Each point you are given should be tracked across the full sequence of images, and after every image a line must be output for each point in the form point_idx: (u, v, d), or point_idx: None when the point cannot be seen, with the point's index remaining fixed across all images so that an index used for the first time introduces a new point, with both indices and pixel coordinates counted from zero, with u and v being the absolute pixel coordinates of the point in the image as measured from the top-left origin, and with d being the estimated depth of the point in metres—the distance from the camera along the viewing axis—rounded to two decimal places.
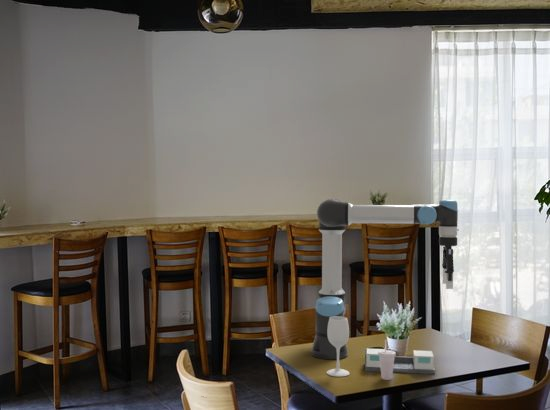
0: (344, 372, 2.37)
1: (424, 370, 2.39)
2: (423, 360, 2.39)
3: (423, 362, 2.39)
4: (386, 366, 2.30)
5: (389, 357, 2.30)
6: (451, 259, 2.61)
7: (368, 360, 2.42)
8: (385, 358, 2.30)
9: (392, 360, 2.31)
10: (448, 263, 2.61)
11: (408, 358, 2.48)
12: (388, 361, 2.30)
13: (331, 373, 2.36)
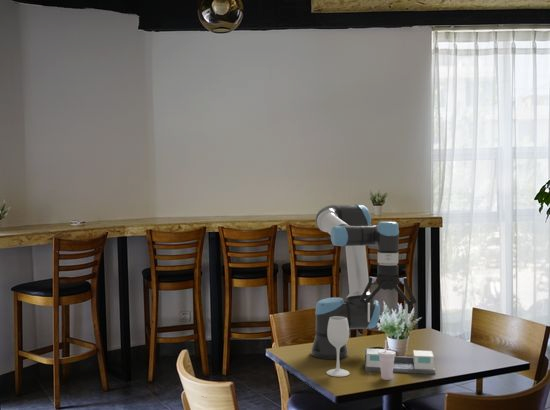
0: (344, 372, 2.37)
1: (424, 370, 2.39)
2: (423, 360, 2.39)
3: (423, 362, 2.39)
4: (386, 366, 2.30)
5: (389, 357, 2.30)
6: (365, 288, 2.33)
7: (368, 360, 2.42)
8: (385, 358, 2.30)
9: (392, 360, 2.31)
10: None
11: (408, 358, 2.48)
12: (388, 361, 2.30)
13: (331, 373, 2.36)
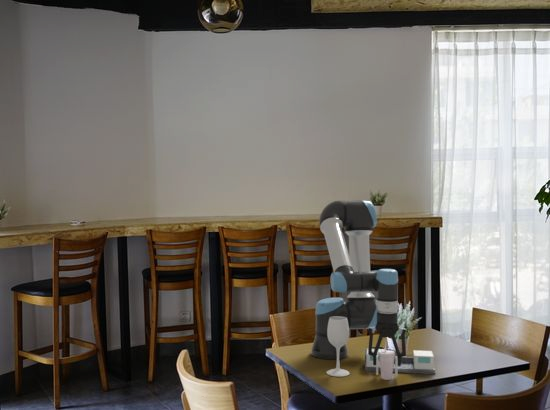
0: (344, 372, 2.37)
1: (424, 370, 2.39)
2: (423, 360, 2.39)
3: (423, 362, 2.39)
4: (386, 366, 2.30)
5: (389, 357, 2.30)
6: (369, 340, 2.33)
7: (368, 360, 2.42)
8: (385, 358, 2.30)
9: (392, 360, 2.31)
10: None
11: (408, 358, 2.48)
12: (388, 361, 2.30)
13: (331, 373, 2.36)
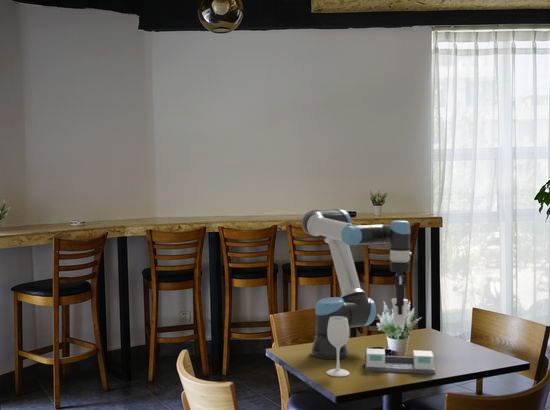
0: (344, 372, 2.37)
1: (424, 370, 2.39)
2: (423, 360, 2.39)
3: (423, 362, 2.39)
4: None
5: None
6: (401, 291, 2.37)
7: (368, 360, 2.42)
8: None
9: None
10: (398, 295, 2.38)
11: (408, 358, 2.48)
12: None
13: (331, 373, 2.36)
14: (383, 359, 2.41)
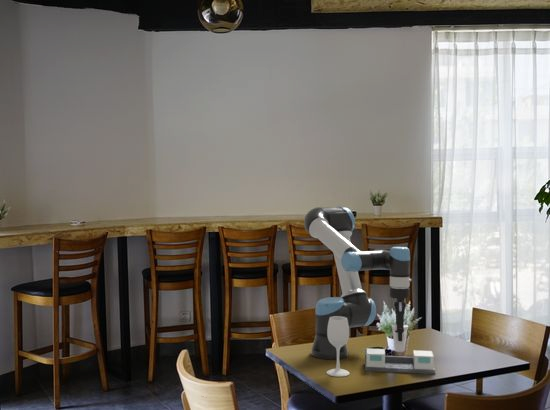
0: (344, 372, 2.37)
1: (424, 370, 2.39)
2: (423, 360, 2.39)
3: (423, 362, 2.39)
4: None
5: None
6: (401, 317, 2.38)
7: (368, 360, 2.42)
8: None
9: None
10: (398, 322, 2.38)
11: (408, 358, 2.48)
12: None
13: (331, 373, 2.36)
14: (383, 359, 2.41)
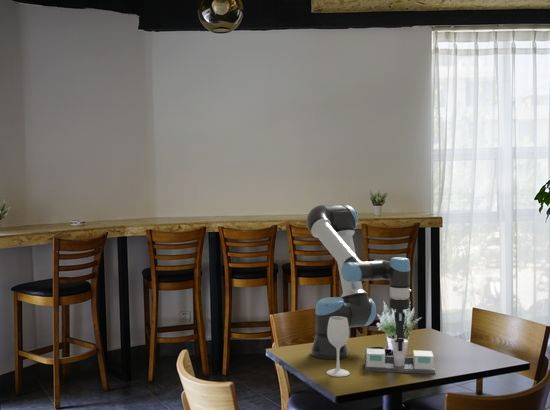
0: (344, 372, 2.37)
1: (424, 370, 2.39)
2: (423, 360, 2.39)
3: (423, 362, 2.39)
4: None
5: None
6: (401, 327, 2.37)
7: (368, 360, 2.42)
8: (406, 345, 2.43)
9: None
10: (398, 332, 2.37)
11: (408, 358, 2.48)
12: None
13: (331, 373, 2.36)
14: (383, 359, 2.41)
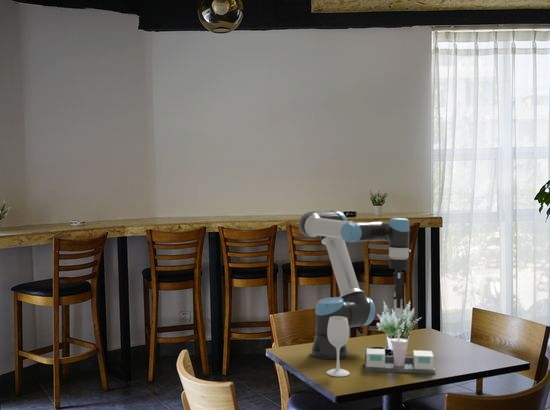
0: (344, 372, 2.37)
1: (424, 370, 2.39)
2: (423, 360, 2.39)
3: (423, 362, 2.39)
4: (405, 352, 2.44)
5: None
6: (400, 284, 2.38)
7: (368, 360, 2.42)
8: (406, 345, 2.43)
9: None
10: (396, 288, 2.38)
11: (408, 358, 2.48)
12: None
13: (331, 373, 2.36)
14: (383, 359, 2.41)
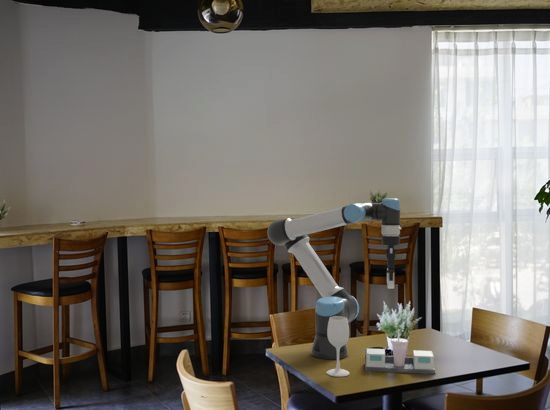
0: (344, 372, 2.37)
1: (424, 370, 2.39)
2: (423, 360, 2.39)
3: (423, 362, 2.39)
4: (405, 352, 2.44)
5: None
6: (392, 258, 2.57)
7: (368, 360, 2.42)
8: (406, 345, 2.43)
9: None
10: (389, 262, 2.56)
11: (408, 358, 2.48)
12: None
13: (331, 373, 2.36)
14: (383, 359, 2.41)
